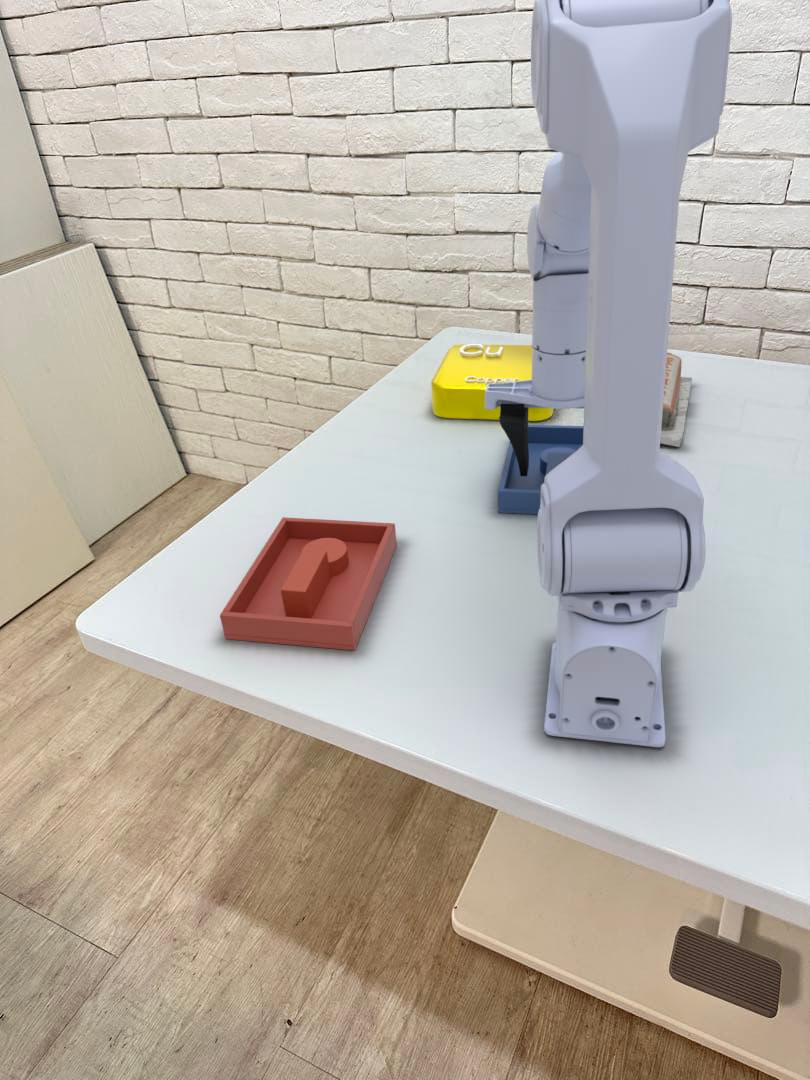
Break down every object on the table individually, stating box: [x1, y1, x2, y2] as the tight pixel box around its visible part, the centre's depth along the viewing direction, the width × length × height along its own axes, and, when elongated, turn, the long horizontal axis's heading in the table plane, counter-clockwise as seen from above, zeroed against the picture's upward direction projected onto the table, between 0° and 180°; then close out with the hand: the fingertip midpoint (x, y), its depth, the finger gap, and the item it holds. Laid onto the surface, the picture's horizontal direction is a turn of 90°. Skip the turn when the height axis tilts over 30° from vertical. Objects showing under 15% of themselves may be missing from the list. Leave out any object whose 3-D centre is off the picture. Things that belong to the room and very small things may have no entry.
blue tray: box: [497, 424, 584, 515], centre depth 84 cm, size 15×11×2 cm
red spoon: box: [281, 538, 349, 619], centre depth 70 cm, size 10×4×3 cm, turn 168°
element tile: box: [430, 343, 555, 422], centre depth 102 cm, size 15×15×5 cm
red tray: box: [219, 516, 398, 651], centre depth 70 cm, size 15×11×2 cm
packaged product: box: [660, 351, 693, 448], centre depth 95 cm, size 18×5×10 cm
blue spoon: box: [540, 447, 576, 476], centre depth 82 cm, size 10×4×3 cm, turn 168°
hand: (558, 473), depth 81 cm, fingers open, 6 cm apart
